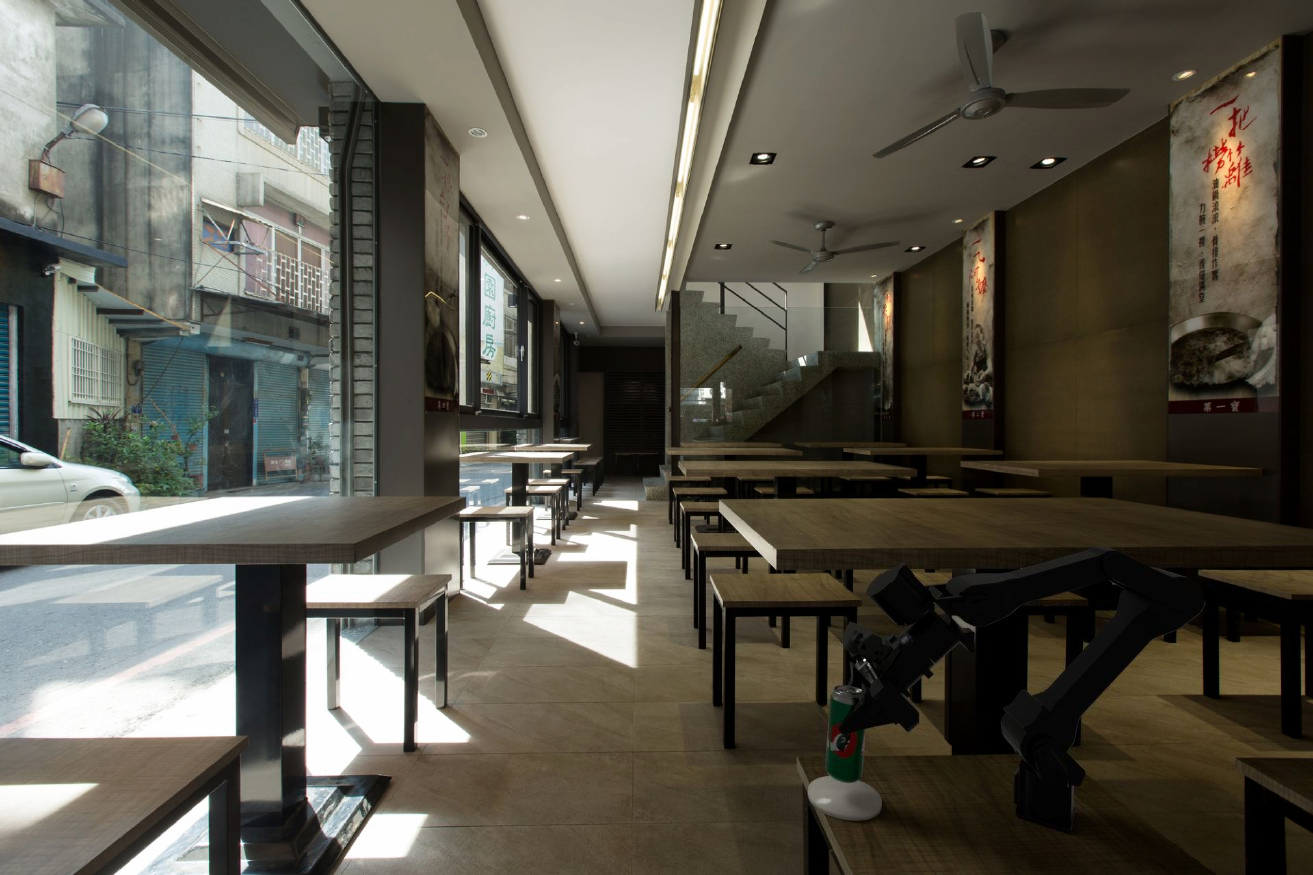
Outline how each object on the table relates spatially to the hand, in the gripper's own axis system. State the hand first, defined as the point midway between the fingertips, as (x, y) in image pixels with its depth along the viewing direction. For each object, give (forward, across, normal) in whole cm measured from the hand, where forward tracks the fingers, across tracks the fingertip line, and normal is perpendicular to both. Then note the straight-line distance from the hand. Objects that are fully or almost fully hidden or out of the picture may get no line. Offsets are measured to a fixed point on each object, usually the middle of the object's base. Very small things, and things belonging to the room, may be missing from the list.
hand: (837, 723), depth 93 cm
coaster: (+7, 0, +8) cm, 11 cm away
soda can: (+5, 0, +6) cm, 8 cm away
